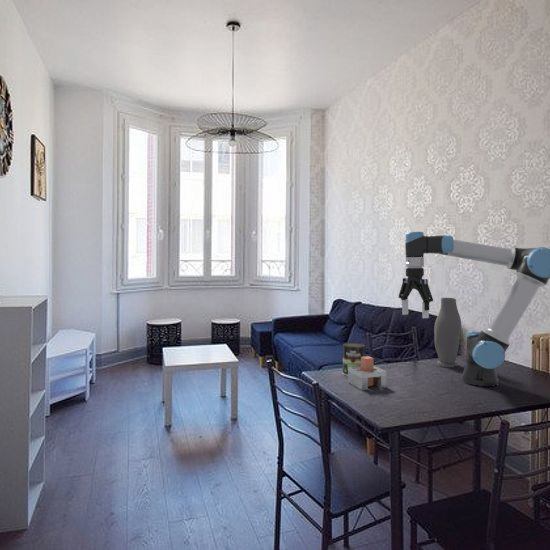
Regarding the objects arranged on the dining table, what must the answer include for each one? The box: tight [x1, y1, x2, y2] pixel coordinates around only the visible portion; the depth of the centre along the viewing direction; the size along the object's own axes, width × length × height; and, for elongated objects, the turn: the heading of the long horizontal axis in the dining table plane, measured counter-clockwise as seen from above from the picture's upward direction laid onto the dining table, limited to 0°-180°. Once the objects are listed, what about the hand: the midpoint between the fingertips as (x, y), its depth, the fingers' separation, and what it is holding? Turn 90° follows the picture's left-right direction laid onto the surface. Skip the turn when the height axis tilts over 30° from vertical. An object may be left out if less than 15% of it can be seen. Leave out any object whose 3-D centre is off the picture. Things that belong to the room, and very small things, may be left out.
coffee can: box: [342, 342, 366, 377], centre depth 210 cm, size 10×10×14 cm
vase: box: [433, 297, 462, 368], centre depth 227 cm, size 13×13×35 cm
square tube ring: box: [347, 365, 388, 391], centre depth 193 cm, size 12×12×7 cm
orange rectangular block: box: [361, 355, 375, 387], centre depth 193 cm, size 4×4×12 cm
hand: (415, 316), depth 192 cm, fingers open, 13 cm apart
